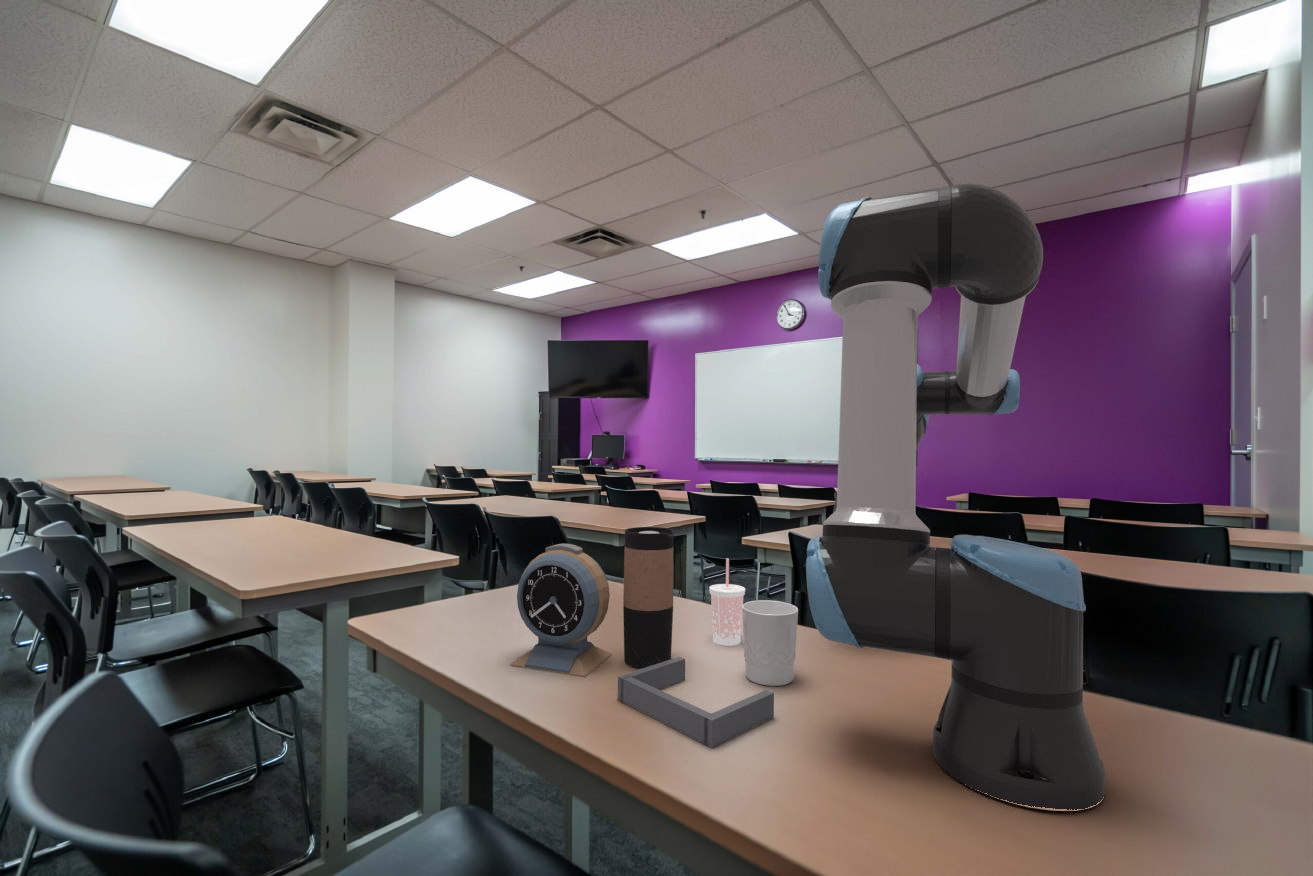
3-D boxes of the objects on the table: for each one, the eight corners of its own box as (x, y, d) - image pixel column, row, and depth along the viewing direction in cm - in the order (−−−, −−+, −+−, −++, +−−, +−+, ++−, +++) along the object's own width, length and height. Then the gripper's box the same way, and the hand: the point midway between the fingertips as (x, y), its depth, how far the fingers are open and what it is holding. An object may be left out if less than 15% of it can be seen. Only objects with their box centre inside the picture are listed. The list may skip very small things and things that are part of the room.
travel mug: (616, 655, 93) (618, 527, 94) (661, 650, 96) (663, 526, 96) (631, 673, 86) (633, 534, 86) (680, 666, 89) (681, 532, 89)
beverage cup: (751, 640, 101) (752, 558, 102) (732, 649, 97) (733, 563, 97) (721, 633, 105) (722, 553, 105) (701, 641, 101) (702, 558, 101)
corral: (679, 677, 85) (679, 656, 85) (773, 717, 73) (774, 692, 73) (617, 699, 77) (617, 676, 77) (711, 748, 65) (712, 720, 65)
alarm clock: (504, 665, 89) (506, 546, 89) (537, 644, 98) (539, 537, 98) (591, 678, 84) (593, 552, 84) (618, 655, 93) (619, 542, 94)
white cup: (732, 670, 88) (733, 602, 88) (780, 664, 90) (780, 598, 90) (757, 691, 80) (757, 616, 81) (808, 684, 83) (808, 612, 83)
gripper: (925, 485, 106) (879, 595, 94) (857, 481, 115) (808, 580, 104) (912, 455, 102) (862, 565, 91) (843, 454, 112) (790, 553, 100)
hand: (833, 573), depth 97 cm, fingers closed
